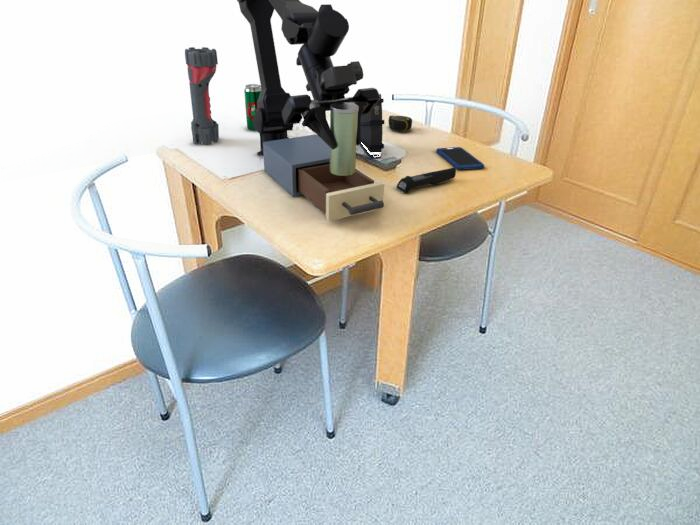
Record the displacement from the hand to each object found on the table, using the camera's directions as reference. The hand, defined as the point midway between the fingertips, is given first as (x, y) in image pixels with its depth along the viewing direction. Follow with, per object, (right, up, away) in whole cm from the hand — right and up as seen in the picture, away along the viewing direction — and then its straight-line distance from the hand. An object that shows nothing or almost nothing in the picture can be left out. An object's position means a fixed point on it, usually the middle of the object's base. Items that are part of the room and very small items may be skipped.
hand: (346, 146), depth 91 cm
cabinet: (-10, -2, +20) cm, 23 cm away
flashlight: (-37, +11, +40) cm, 55 cm away
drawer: (-1, -10, +8) cm, 13 cm away
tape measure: (+15, +18, +54) cm, 59 cm away
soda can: (-26, +17, +50) cm, 59 cm away
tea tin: (-1, -4, +4) cm, 6 cm away
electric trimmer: (+18, -4, +20) cm, 27 cm away
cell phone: (+29, +5, +34) cm, 45 cm away
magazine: (+6, +8, +38) cm, 39 cm away
